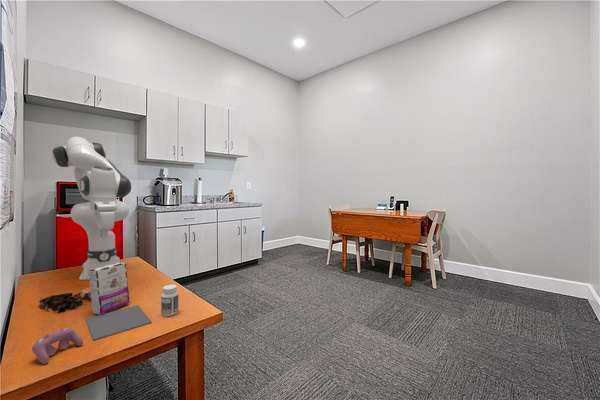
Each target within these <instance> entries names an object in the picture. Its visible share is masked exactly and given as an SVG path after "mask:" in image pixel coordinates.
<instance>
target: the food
mask: <svg viewBox="0 0 600 400" xmlns="http://www.w3.org/2000/svg"><path fill="white" fill-rule="evenodd" d="M88 299H91V290H90V286H89V287H86V288H84V289H82V290H80V292H78V293H74V294H73V292H69V293H61V294H55V295H54V294H53V295H50V296H47V297H45V298H41V299H40V300H39V301H38V303H39V304H40V305H42V306H45V308H44V311H46V312H48V313H49V312H50V310H49V309H51V311H54V312H56V313H58V314H61V313H65V312H66V311H67V310H68V311H72V310H76V309H77V308H79V307H80V306H81V305H82V304H83V300H88Z"/></svg>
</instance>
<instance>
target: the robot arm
mask: <svg viewBox="0 0 600 400" xmlns="http://www.w3.org/2000/svg"><path fill="white" fill-rule="evenodd" d="M106 156H107V152H106V149H105V147H104V146H103V145H102V144H101V143H99V142H89V140H88V139H86V138H85V137H81V136H72V137H70V138H68V139H67V141H66V142H65V145H61V146H56V147H55V148H53V149H52V152H51V158H52V160H53V162H54V163H55V164H57V166H58V167H61V168H69V167H74V171H73V172H74V179H75V181H76V185H77V187H78V190H79V193H80V195H81V197H82V198H83V199H84V200H86V201H85V202H81V203H76V204H74V205H73V206H72V208H71V210H70V217H71V219H72V221H73V222H74V223H76V224H77V225H79V226H81V227H82V228H83V229H84V230H85V232H86V234H87V239H88V250H87V254H86V255H87V260H85V262H84V263H82V265H81V268H82V269H83V270H82V272H81V273H80V276H79V278H78V279H79V281H82V280H86V281H87V280H88V281H89V271H88V270H91V269H95V268H99V267H103V266H107V265H110V264H115V263H119V262H120V257H119V256H117V247H116V235H115V233H114V232H113V231H112V230H113V229H114V225H115V222H118V221H124V220H126V219H127V218H128V216H129V214H130V209H129V206H128V205H127V203H126V202H123V201H120V200H119V199H117V198H122V199H123V198H125V197H126V196H128V195H129V194H130V193H131V191H132V183H131V181H130V180H129V178H128V177H127V176H125V175H123V174H122V173H121V172H120V170H119V169H118V168H117V166H115V164H114V163H113V162H112V161H111V160H110V159H108V158H106Z"/></svg>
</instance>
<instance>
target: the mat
mask: <svg viewBox="0 0 600 400" xmlns="http://www.w3.org/2000/svg"><path fill="white" fill-rule="evenodd" d="M148 316H149V315H147V314H146V313H145V311H144V310H143V309H142V307H140V306H139V304H138V305H133V306H130V307H126V308H122V309H121V308H120V309H118V310H117V309H116V310H112V311H109V312H107V313H105V314H102V315H97V314H96V315H93V316H90V317H86V318H85V321H86V324H87V327H88V329H89V333H90V336H91V337H92V341H97V340H101V339H104V338H106V337H110V336H114V335H117V334H119V333H120V334H121V333H123V332H126V331H130V330H133V329H137V328H140V327H143V326H147V325H150V324H152V323H153V321H152V319H150V318H149V317H148Z"/></svg>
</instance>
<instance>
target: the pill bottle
mask: <svg viewBox="0 0 600 400" xmlns="http://www.w3.org/2000/svg"><path fill="white" fill-rule="evenodd" d="M177 286H178V285H176V284H167V285H164V286H163V287H162V293H161V295H160V303H161V309H160V313H161V315H162V316H164V317H169V316H171V317H172V316H174V315H176V314H178V312H179V292H178V290H177V289H178V287H177Z"/></svg>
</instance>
